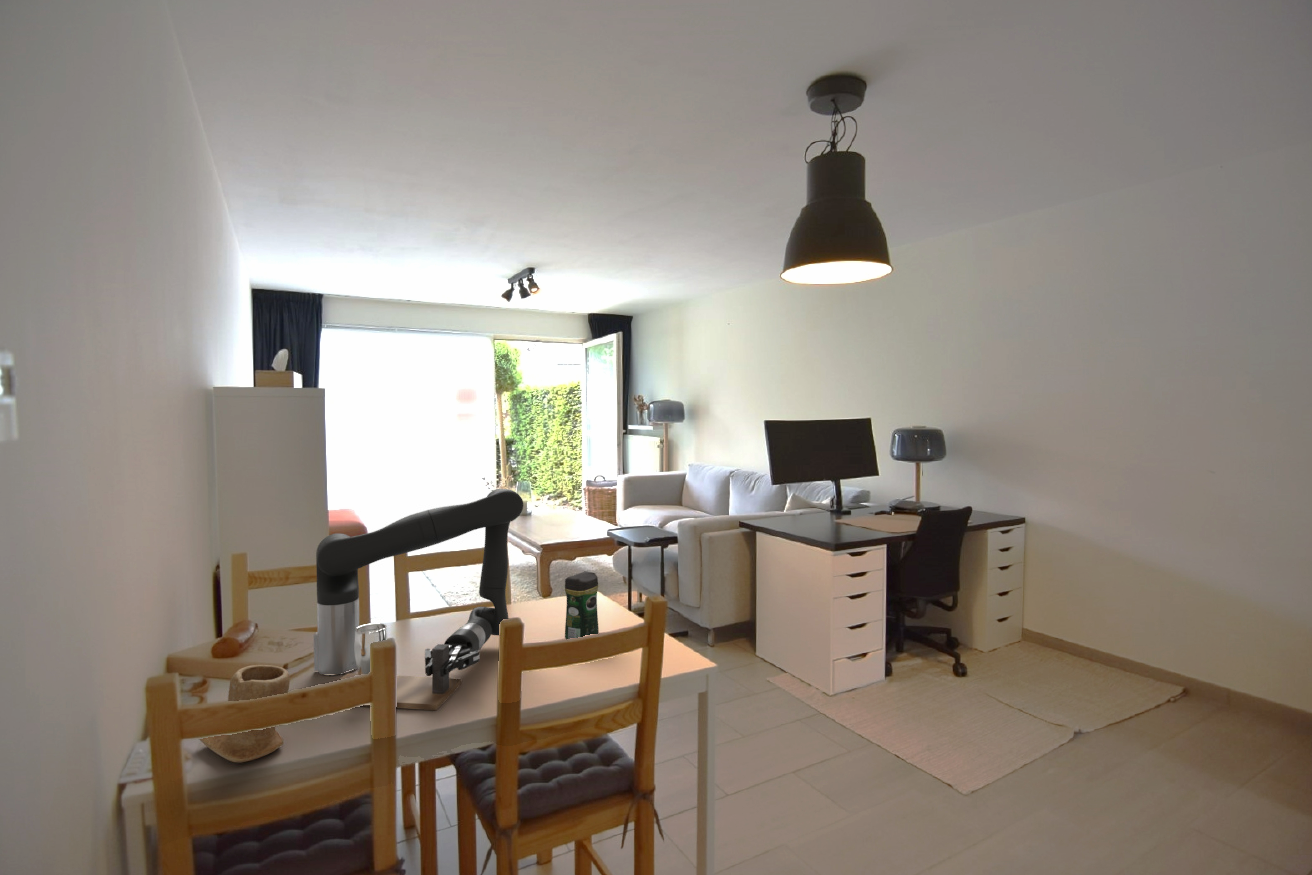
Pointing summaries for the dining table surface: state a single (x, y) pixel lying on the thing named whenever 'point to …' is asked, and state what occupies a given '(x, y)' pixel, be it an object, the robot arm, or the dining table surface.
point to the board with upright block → (425, 685)
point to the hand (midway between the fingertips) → (435, 671)
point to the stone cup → (246, 687)
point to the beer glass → (367, 644)
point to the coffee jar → (581, 605)
